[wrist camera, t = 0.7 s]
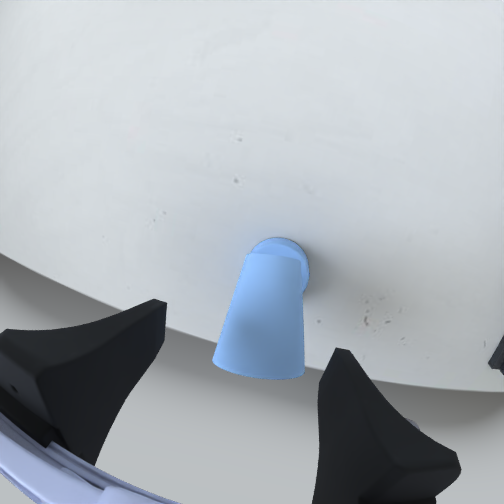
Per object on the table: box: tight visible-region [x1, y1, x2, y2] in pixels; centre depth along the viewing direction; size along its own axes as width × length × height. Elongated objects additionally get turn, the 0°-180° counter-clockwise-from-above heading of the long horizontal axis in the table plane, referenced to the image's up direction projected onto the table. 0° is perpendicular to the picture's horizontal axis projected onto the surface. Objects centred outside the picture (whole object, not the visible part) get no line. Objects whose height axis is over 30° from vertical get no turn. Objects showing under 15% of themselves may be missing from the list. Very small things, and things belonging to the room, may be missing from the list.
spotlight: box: [213, 238, 310, 380], centre depth 17 cm, size 5×10×7 cm
